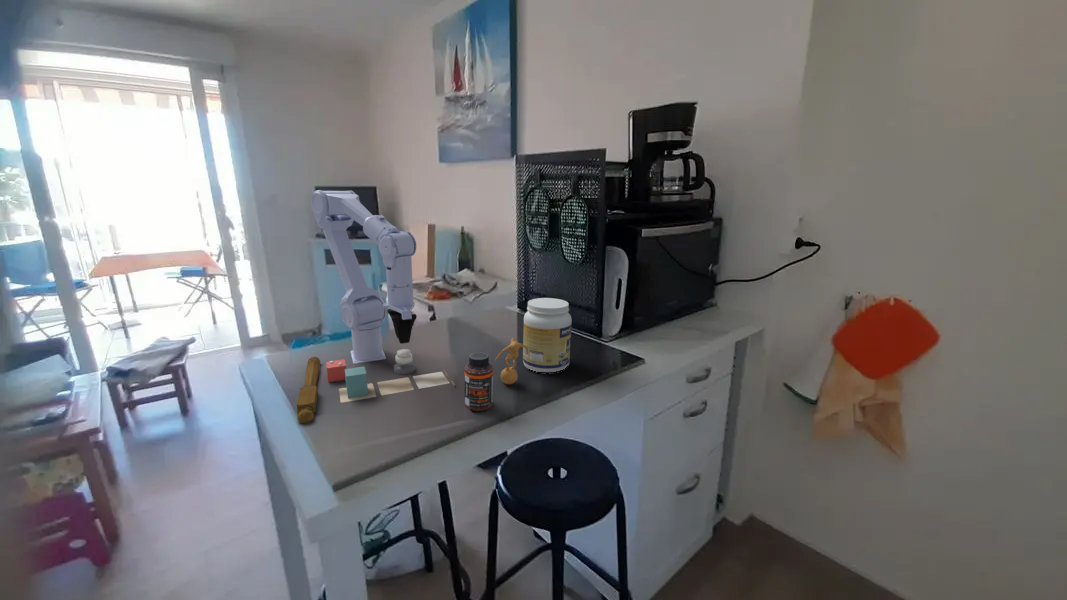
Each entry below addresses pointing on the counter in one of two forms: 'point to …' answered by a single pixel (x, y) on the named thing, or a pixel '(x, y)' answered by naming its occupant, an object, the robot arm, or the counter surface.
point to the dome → (403, 356)
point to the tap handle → (308, 392)
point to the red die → (336, 370)
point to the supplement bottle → (478, 382)
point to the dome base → (404, 368)
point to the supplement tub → (547, 335)
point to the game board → (400, 385)
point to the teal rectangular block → (356, 382)
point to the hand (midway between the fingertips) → (403, 339)
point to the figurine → (510, 373)
